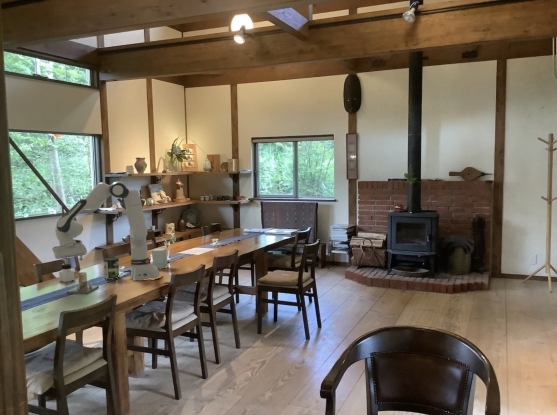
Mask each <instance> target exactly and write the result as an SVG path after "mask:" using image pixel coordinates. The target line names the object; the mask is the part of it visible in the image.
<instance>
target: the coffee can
mask: <svg viewBox="0 0 557 415" xmlns="http://www.w3.org/2000/svg"><path fill="white" fill-rule="evenodd" d="M119 261H120V260H119V257H106V258H103V272H104V279H105V278H106V279H105V280H107V279H112V278H116V277H118V275H119V276H120V267H119V266H120V264H119ZM112 280H113V279H112Z"/></svg>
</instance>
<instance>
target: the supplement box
mask: <svg viewBox="0 0 557 415" xmlns="http://www.w3.org/2000/svg"><path fill="white" fill-rule="evenodd" d="M167 250H168V249H167V248H154V249H152V250H151V255H152V256H151V258H152V259H151V261H152V264H153V265H154V266H155V267H157V268H165V267H166V266H167V267H168V252H167ZM167 267H166V268H167ZM166 268H165V269H166Z"/></svg>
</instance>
